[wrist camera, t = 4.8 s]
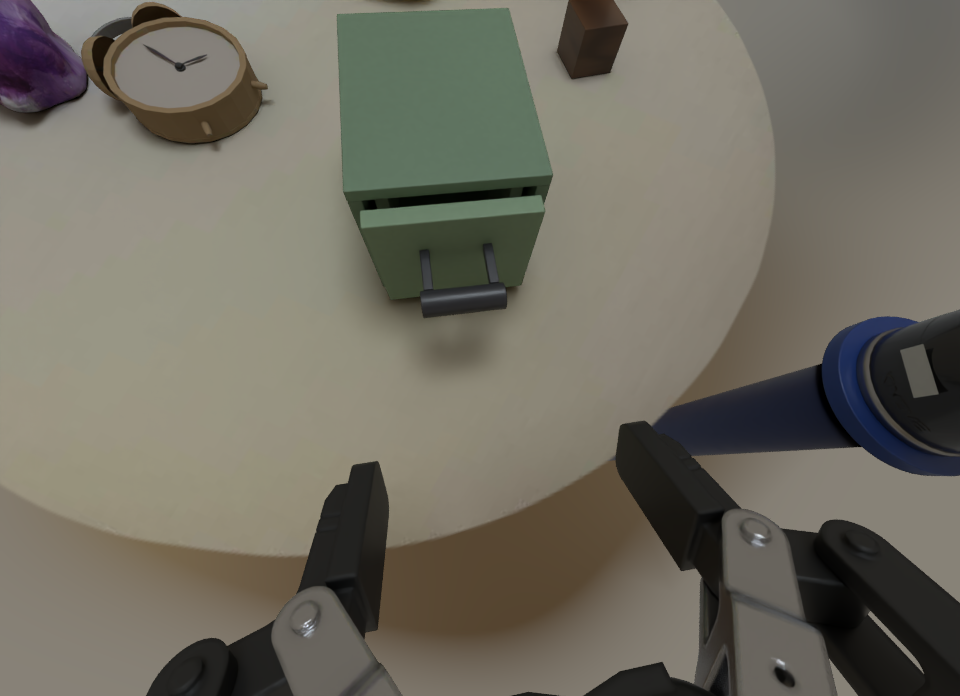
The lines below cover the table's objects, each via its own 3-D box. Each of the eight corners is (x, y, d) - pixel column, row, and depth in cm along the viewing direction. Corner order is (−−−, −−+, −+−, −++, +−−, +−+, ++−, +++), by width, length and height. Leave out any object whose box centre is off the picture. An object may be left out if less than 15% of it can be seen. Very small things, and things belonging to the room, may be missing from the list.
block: (594, 44, 40) (610, -6, 36) (610, 72, 39) (628, 23, 34) (556, 50, 39) (568, -1, 35) (571, 78, 38) (585, 29, 34)
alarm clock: (183, 137, 29) (18, 29, 29) (214, 178, 34) (72, 86, 33) (276, 59, 33) (130, -39, 32) (292, 106, 37) (166, 21, 37)
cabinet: (522, 272, 30) (553, 174, 20) (383, 287, 29) (342, 192, 19) (495, 140, 35) (509, 7, 25) (373, 149, 34) (336, 13, 24)
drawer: (531, 336, 27) (562, 279, 19) (394, 353, 26) (364, 301, 18) (494, 155, 33) (505, 49, 25) (379, 164, 32) (351, 57, 24)
